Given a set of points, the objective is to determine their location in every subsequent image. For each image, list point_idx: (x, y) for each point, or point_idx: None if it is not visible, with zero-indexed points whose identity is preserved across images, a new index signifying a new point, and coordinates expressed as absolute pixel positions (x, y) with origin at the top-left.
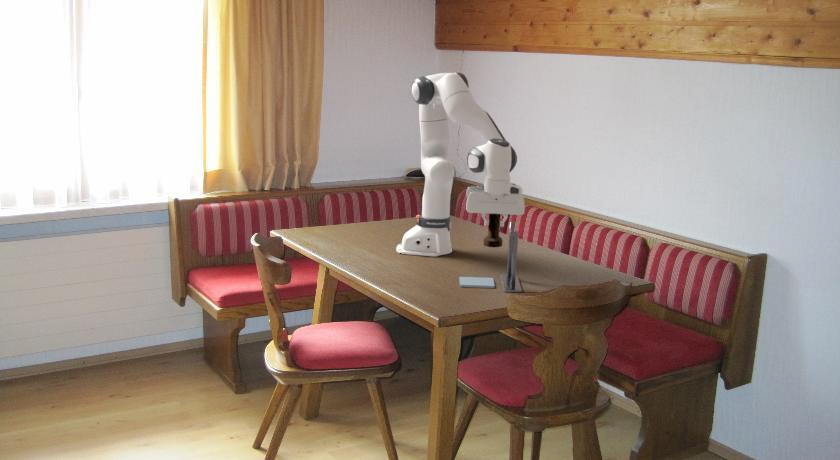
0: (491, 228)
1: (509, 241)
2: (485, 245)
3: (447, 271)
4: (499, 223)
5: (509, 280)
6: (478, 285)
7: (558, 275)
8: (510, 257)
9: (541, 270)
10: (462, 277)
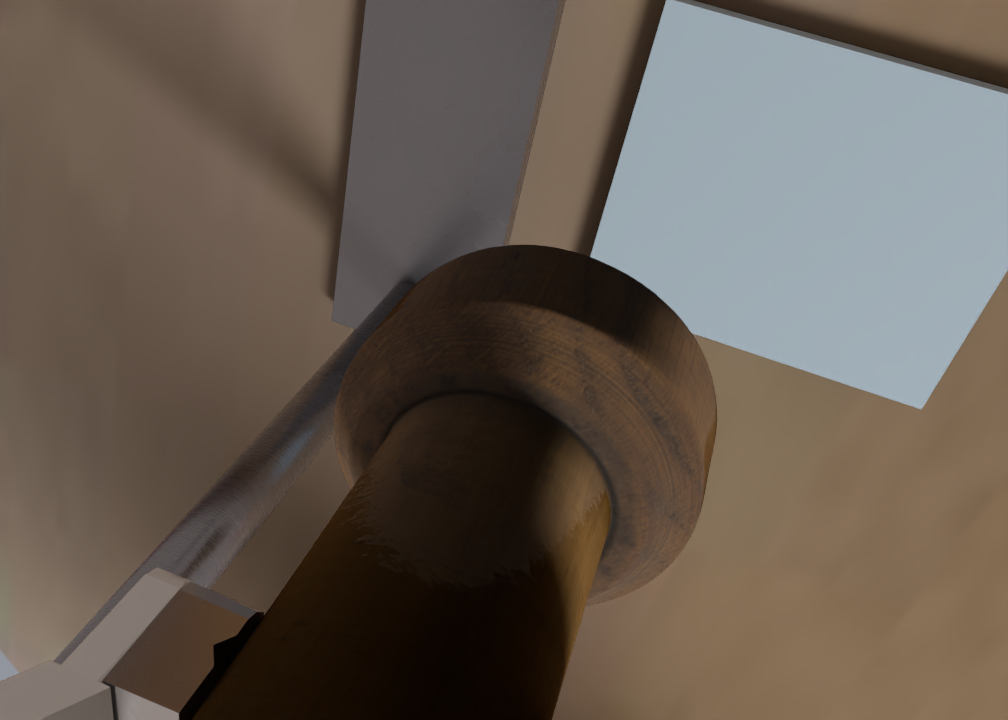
0: (508, 608)
1: (235, 528)
2: (709, 376)
3: (909, 616)
4: (221, 678)
5: (440, 169)
6: (862, 53)
7: (16, 283)
8: (321, 386)
9: (129, 426)
10: (899, 379)
